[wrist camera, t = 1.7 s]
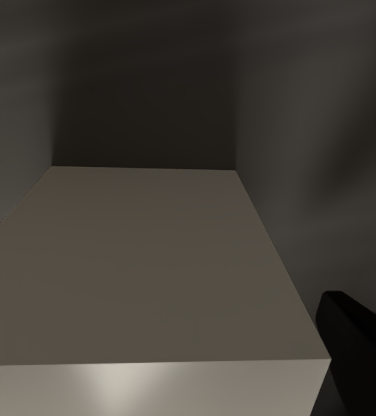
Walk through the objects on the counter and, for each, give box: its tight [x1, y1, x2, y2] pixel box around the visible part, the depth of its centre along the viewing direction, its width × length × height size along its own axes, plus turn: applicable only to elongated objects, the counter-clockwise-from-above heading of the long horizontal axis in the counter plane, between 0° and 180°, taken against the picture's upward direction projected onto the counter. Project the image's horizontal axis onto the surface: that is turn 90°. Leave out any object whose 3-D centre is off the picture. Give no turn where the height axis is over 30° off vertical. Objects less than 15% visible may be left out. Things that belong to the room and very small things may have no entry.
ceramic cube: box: [0, 166, 331, 416], centre depth 7 cm, size 5×5×6 cm
